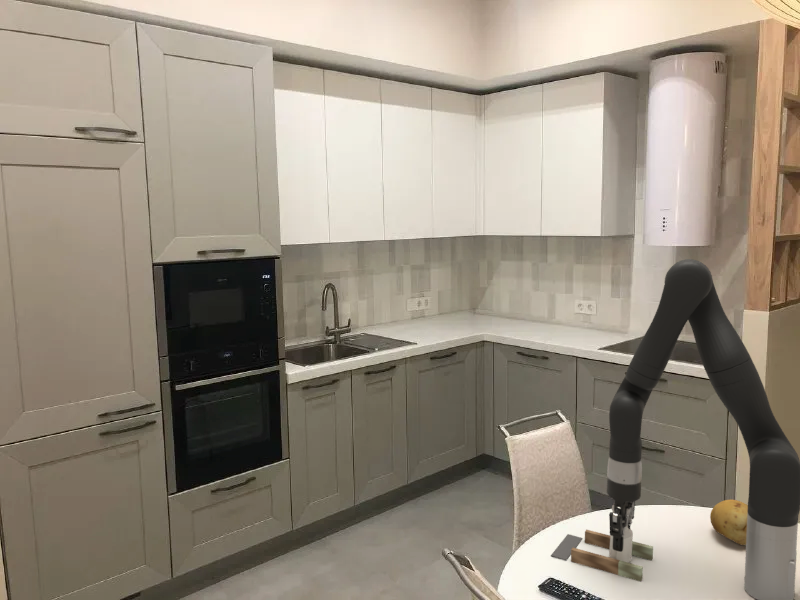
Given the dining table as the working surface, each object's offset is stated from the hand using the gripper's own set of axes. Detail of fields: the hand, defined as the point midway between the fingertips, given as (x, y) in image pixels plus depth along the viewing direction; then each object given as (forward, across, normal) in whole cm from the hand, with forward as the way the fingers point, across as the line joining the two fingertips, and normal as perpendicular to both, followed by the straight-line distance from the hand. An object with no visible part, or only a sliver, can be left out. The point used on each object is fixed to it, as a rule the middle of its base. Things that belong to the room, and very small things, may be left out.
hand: (621, 544), depth 148 cm
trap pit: (+5, 0, +13) cm, 14 cm away
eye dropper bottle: (+5, 0, 0) cm, 5 cm away
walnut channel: (+5, 0, +2) cm, 5 cm away
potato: (+4, +25, -21) cm, 33 cm away
